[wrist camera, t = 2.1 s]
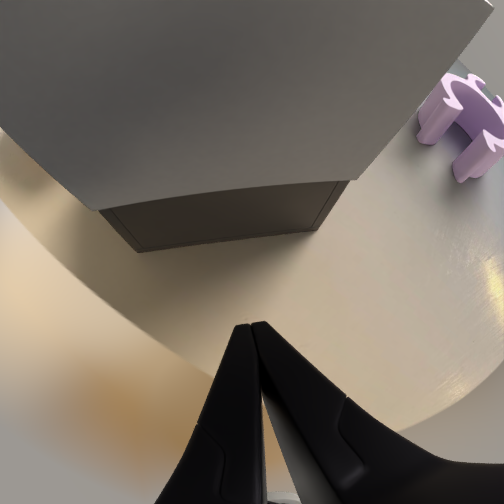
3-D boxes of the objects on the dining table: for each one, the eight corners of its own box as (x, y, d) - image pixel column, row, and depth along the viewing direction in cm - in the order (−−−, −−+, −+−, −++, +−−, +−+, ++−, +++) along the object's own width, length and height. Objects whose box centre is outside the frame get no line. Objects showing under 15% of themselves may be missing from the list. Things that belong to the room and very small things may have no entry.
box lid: (-52, 33, 1) (-66, 50, 1) (479, -6, 3) (495, 8, 3) (92, 198, 13) (91, 211, 13) (353, 168, 15) (356, 180, 15)
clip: (445, 88, 33) (462, 62, 26) (496, 140, 30) (518, 117, 24) (400, 124, 28) (425, 85, 21) (472, 199, 25) (507, 170, 19)
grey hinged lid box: (141, 141, 25) (119, 82, 17) (287, 125, 26) (301, 64, 19) (137, 253, 21) (95, 208, 14) (317, 230, 23) (352, 178, 15)
